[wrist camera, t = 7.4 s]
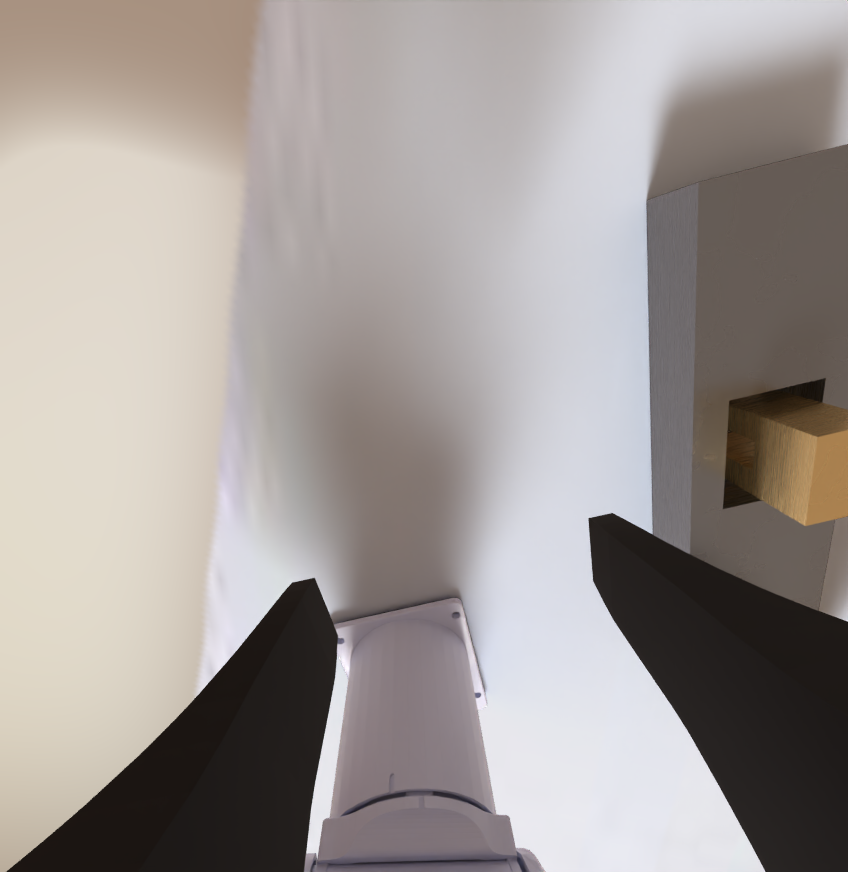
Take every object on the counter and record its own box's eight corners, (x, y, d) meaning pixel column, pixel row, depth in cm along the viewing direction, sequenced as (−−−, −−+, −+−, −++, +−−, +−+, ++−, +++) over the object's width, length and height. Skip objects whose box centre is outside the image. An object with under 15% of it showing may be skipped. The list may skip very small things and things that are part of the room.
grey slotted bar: (768, 576, 24) (817, 615, 21) (654, 601, 24) (687, 643, 21) (817, 157, 16) (907, 129, 13) (647, 200, 16) (698, 182, 13)
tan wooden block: (741, 450, 20) (868, 511, 15) (695, 460, 21) (805, 526, 15) (745, 381, 19) (887, 420, 14) (696, 393, 19) (817, 437, 14)
